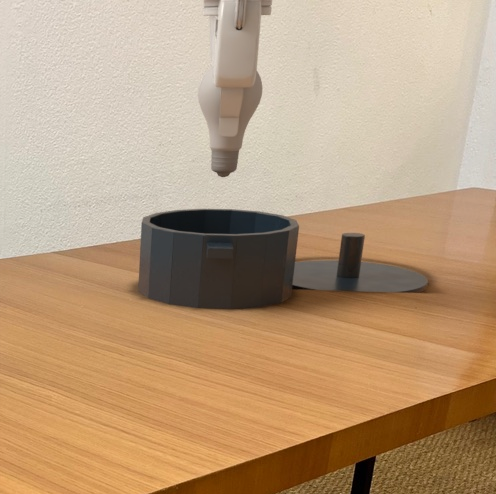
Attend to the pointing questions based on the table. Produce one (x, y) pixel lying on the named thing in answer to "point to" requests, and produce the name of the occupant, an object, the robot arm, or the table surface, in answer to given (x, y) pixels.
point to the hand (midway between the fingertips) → (226, 132)
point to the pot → (217, 258)
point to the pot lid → (355, 272)
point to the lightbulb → (209, 100)
